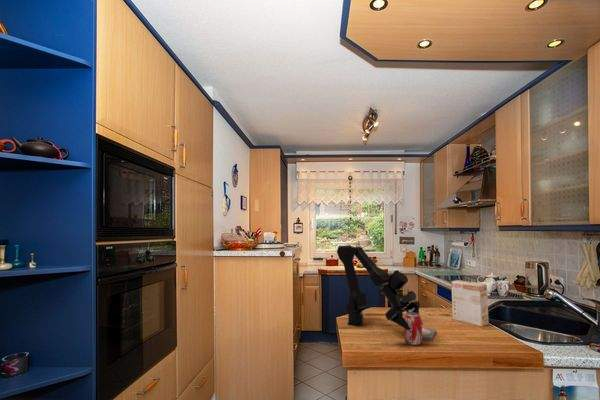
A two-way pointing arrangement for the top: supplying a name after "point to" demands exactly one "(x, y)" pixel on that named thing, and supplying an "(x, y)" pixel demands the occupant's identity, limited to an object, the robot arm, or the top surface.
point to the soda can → (413, 328)
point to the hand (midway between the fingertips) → (415, 327)
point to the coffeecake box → (470, 302)
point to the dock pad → (427, 333)
